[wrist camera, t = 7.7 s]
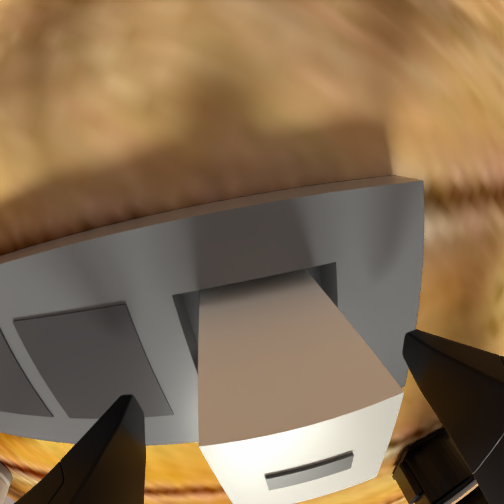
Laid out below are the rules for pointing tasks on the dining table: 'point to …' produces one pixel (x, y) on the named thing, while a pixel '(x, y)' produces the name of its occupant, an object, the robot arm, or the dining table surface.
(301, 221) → the power strip
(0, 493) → the travel mug
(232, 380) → the block
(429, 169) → the dining table surface
